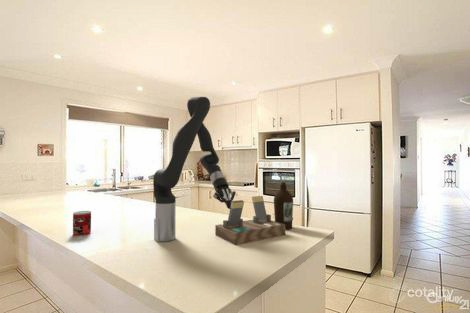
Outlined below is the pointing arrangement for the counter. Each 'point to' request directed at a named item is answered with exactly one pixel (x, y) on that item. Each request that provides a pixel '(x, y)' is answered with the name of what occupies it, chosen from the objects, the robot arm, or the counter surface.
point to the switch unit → (249, 230)
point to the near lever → (235, 212)
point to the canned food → (81, 223)
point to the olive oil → (283, 206)
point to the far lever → (259, 208)
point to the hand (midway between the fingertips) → (230, 208)
